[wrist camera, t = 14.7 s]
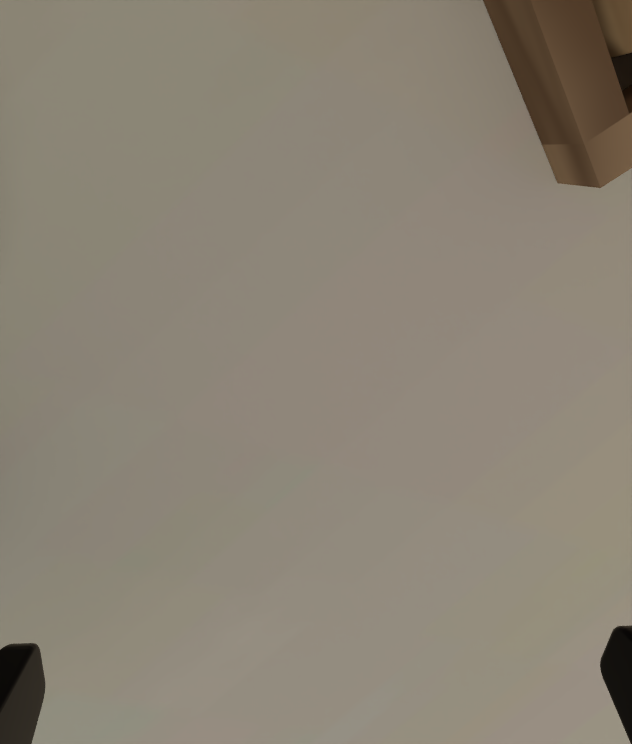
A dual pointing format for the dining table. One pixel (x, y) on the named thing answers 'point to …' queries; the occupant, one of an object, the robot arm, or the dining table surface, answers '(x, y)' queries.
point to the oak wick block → (615, 24)
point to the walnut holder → (568, 86)
